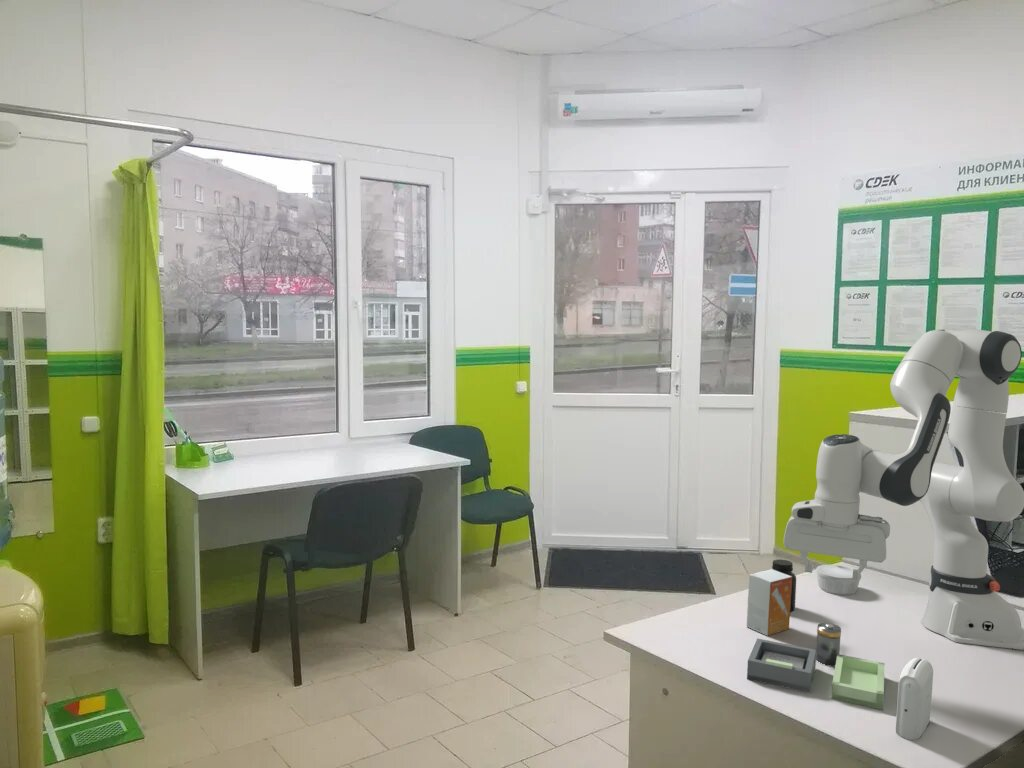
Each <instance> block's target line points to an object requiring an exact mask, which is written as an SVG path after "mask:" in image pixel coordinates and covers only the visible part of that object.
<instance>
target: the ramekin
mask: <svg viewBox="0 0 1024 768" xmlns="http://www.w3.org/2000/svg"><path fill="white" fill-rule="evenodd" d="M853 569H854V568H851V567H847V566H844V565H838V564H821V565H818V566H816V569H815V572H816V574H817V584H818V587H819V589H821V590H822V591H824V592H826V593H829V594H833V595H838V596H851V595H854V594H856V592H857V591H858V588H859V583H860V580H861V579H862V574H860V580H854V579H852V577H853Z"/></svg>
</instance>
